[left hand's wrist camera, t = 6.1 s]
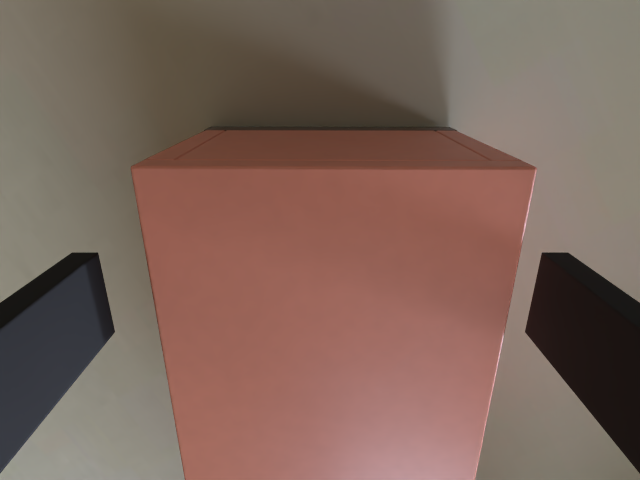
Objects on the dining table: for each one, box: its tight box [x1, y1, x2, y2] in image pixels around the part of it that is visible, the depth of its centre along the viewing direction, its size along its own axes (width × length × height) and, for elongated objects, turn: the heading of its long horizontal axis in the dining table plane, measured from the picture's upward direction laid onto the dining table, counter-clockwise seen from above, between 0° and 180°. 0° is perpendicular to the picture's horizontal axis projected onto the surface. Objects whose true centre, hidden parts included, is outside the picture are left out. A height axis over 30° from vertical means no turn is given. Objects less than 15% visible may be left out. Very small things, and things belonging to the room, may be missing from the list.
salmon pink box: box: [131, 127, 537, 480], centre depth 17 cm, size 20×10×8 cm, turn 0°
